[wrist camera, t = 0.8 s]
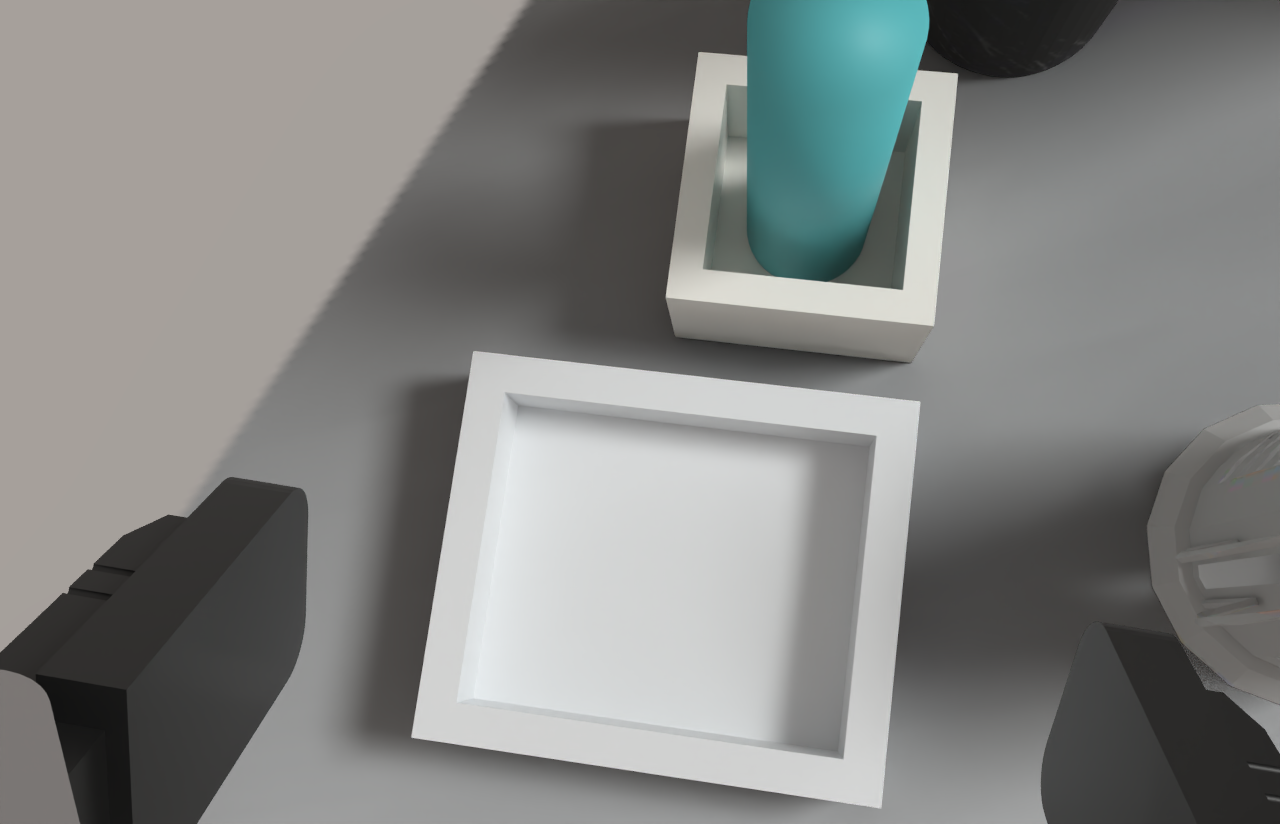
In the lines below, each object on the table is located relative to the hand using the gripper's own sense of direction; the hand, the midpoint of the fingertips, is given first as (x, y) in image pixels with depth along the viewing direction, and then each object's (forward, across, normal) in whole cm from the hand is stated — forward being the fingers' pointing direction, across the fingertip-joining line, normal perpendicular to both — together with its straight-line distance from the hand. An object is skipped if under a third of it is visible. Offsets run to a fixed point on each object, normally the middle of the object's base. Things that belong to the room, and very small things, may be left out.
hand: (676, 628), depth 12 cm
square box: (+30, -3, +3) cm, 31 cm away
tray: (+24, 0, +13) cm, 27 cm away
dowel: (+30, -3, +3) cm, 30 cm away
